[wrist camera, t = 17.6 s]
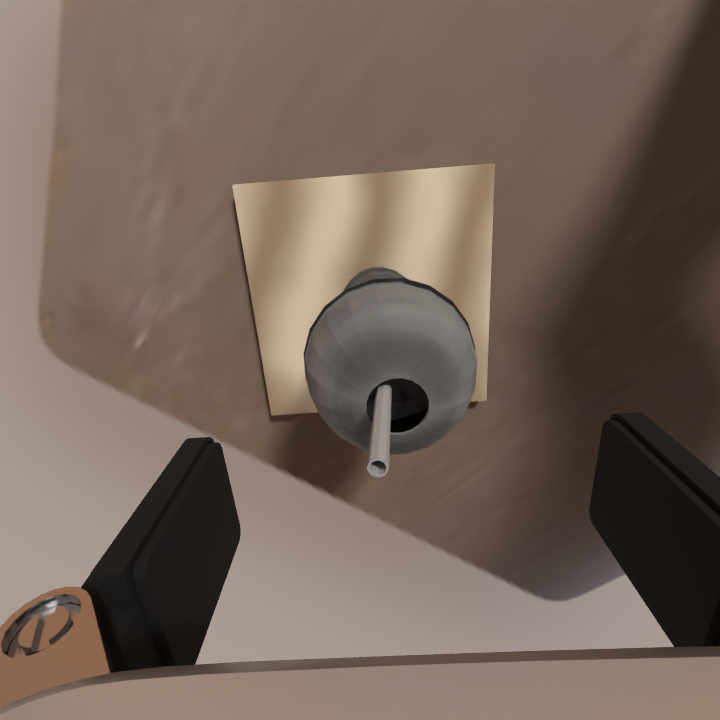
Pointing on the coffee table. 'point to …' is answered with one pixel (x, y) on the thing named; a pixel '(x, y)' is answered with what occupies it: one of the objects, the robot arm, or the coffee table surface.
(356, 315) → the beverage cup
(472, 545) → the coffee table surface
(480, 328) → the birch board
